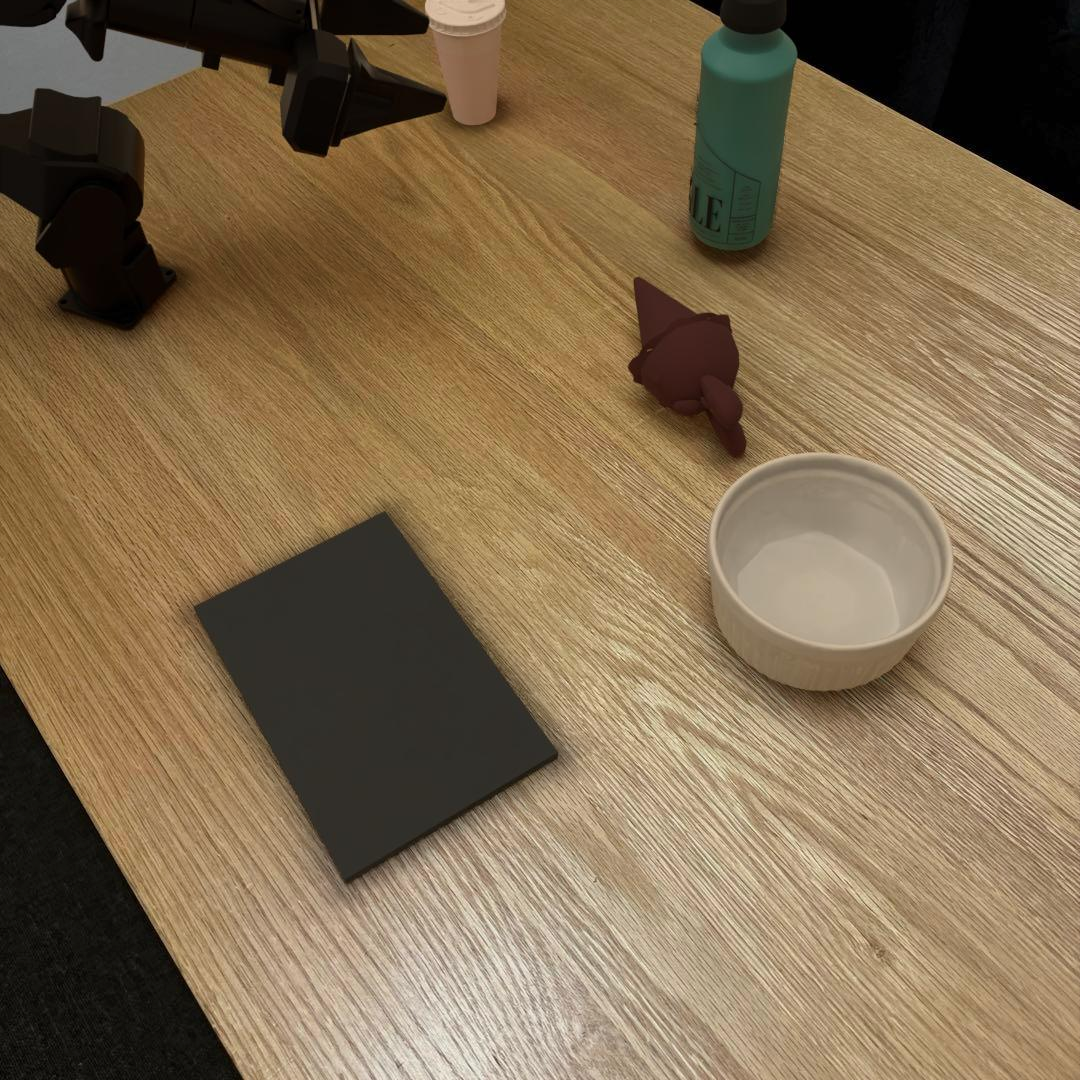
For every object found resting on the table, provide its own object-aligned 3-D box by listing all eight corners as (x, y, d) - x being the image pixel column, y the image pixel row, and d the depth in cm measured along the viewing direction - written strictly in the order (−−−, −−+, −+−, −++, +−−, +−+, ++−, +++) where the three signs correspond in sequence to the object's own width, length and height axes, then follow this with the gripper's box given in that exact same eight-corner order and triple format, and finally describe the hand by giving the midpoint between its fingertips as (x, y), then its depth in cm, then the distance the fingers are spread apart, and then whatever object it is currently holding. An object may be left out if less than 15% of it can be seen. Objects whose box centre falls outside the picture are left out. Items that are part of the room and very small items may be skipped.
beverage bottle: (786, 229, 90) (828, -28, 74) (746, 280, 87) (782, 23, 71) (709, 202, 93) (734, -54, 76) (668, 251, 89) (685, -5, 73)
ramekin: (927, 729, 65) (959, 665, 60) (687, 696, 67) (696, 630, 61) (924, 537, 73) (952, 464, 67) (708, 512, 75) (718, 438, 69)
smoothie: (502, 138, 98) (491, -28, 87) (427, 131, 99) (407, -34, 88) (519, 93, 102) (510, -71, 91) (446, 87, 103) (429, -77, 92)
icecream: (577, 271, 79) (677, 439, 72) (677, 220, 79) (787, 384, 71) (597, 331, 85) (691, 492, 78) (690, 285, 85) (793, 442, 78)
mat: (195, 611, 71) (192, 606, 71) (386, 516, 75) (385, 510, 75) (346, 884, 61) (344, 880, 61) (558, 757, 65) (558, 752, 64)
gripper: (217, -52, 61) (499, 27, 67) (213, -206, 72) (456, -125, 78) (183, 132, 69) (439, 188, 75) (184, -31, 80) (407, 29, 86)
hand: (436, 63), depth 78 cm, fingers open, 9 cm apart
